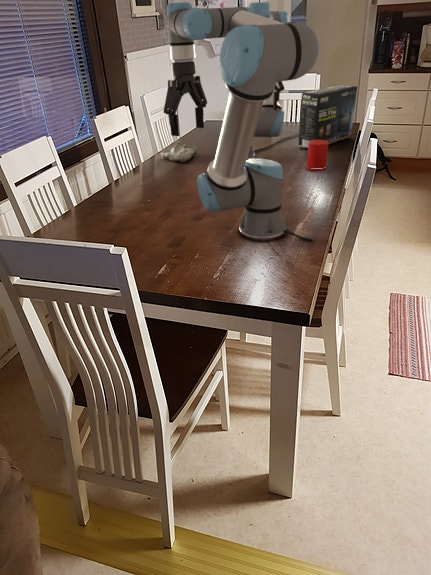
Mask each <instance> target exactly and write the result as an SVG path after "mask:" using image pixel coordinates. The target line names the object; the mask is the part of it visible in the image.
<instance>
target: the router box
mask: <svg viewBox="0 0 431 575" xmlns="http://www.w3.org/2000/svg"><path fill="white" fill-rule="evenodd" d="M357 93H358V86H356V85H350V84H339V85H338V84H337V85H334V86H328V87H324V88H318V89H314V90H309V91H304V92H301V93H300V109H299V110H300V111H299V124H298V133H299V134H298V135H297V136H298V137H297V146H298V145H302V146H307V147H308V142H309V141H311V140H326V141H328V142H331V141H333V140H336V139H338V138H341V137H344V136H347V135H351V136H352V133H353V132H352V131H353V125H354V115H355V109H356V99H357Z"/></svg>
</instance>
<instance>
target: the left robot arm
mask: <svg viewBox="0 0 431 575" xmlns="http://www.w3.org/2000/svg"><path fill="white" fill-rule="evenodd" d="M248 7H249V8H251V9H252V12H254V14H256V15H259V16H263V17H266V18H269V19H272V20H275V21H278V22H281V23H284V24H285V23H288V22H290V21H289V14H288V12H287V11H285V10H284V11H283V10H275V11H273V10H272V11H271V7H270V2H268V1H261V2H257V1H256V2H250V3H249V5H248ZM284 90H285V86H284V84H283V81H279V82H277V83H276V84H275V87H274V91H273V94H272V96H271V97H270V98H269V99H267V100H264V102H263V106H262V109H261V112H260V116H259V119H258V123H257V126H256V130H255V133H254V137H253V138H277V137H280V135H281V134H282V131H283V126H284V122H285V110H283V109H282V108H283V107H282V105H281V104H280V93H281V92H282V91H284ZM263 147H264V148H263ZM263 147H260V148H261V149H260V148H257V149H258V150H256V149H254V147H253V142H252V143H251V147H250V150H249V154H248V157H247V159H251V158H252V159H256V152H260V151H263V150H265V149H267V148H266V146H263ZM254 150H255V151H254ZM254 156H255V157H254ZM253 157H254V158H253Z"/></svg>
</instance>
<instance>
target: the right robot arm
mask: <svg viewBox="0 0 431 575" xmlns="http://www.w3.org/2000/svg"><path fill="white" fill-rule="evenodd" d="M166 20H167V30H168V38H169V39H168V40H169V42H168V43H169V50H170V52H169V53H170V60H171V61H172V62H171V63H170V67H171V74H172V76H174V79H168V80H167V91H166V96H165V102H164V105H163V114H165V115H168V121H169V126H170V136H172V137H179V136H180V127H179V114H177V111H178V109H179V106H180V103H181V102H182V101H181V100H182V99H183V97H184V95H185V94H189V96H190V98H191V99H192V101H193V103H194V104H195V106H196V107H194V111H195V112H194V114H195V127H196V129H197V128H198V129H204V128H205V124H204V117H205V116H204V115H205V114H204V108H207V105H208V100H207V96H206V94H205V92H204V88H203V86H202V81H201V75H196V73H197V69H196V68H197V67H196V62H195V59H196V49H195V41H201V40H207V39H220V38H221V39H223V41H222V43H221V47H220V51H219V63H220V65H219V73H220V76H221V79H222V81H223V82H224V83H225V88H226V89H227V90H228V91H229V92H228V97H227V101H226V105H225V111H224V115H223V120H222V125H221V130H220V135H219V138H218V144H217V148H216V153H215V158H214V159H213V160H211V161H210V162H209V164H208V166H207V170H206V173H204V172H202V173H201V174H198V175H197V179H196V185H197V186H196V187H197V191H198V195H199V199H200V201H201V204H202V205H203V207H204V209H205V211H207V212H209V213H221V212H225V211H229V210H234V209H239V208H243V207H244V211H243V213H242V216H241V220H240V222H239V226H238V232H239V235H240V236H241V237H242V238H244V239H247V240H250V241H254V242H271V241H277V240H279V239H281V238H283V237H285V235H286V234H288V235H290V236H293V237H296V238H298V239H301V240H304V241H308V242H313V238H309V237H305V236H302V235H299V234H296V233H294V232H292V231H288V230H287V223H286V221H285V216H284V214H283V210H282V200H283V181H284V172H283V171H284V169H283V166H282V164H280V162H277V161H275V160H271V159H266V158H254V159H248V160H247V157H248V154H249V150H250V147H251V143H252V144H253V139H254V138H255V137H254V133H255V130H256V126H257V123H258V119H259V116H260V112H261V109H262V106H263V102H264V100H267V99H269V98H270V97H271V96H272V94H273V91H274V87H275V84H276V83H277V82H279V81H282V82H288V81H294V80H297V79H300V78H302V77H304V76H305V75H307V74H308V73H309V72H310V71H311V70H312V68H313V67H314V66H315V65H316V63H317V60H318V59H319V54H320V42H319V37H318V35H317V33H316V32H315V31H314V29H313V28H311V27H310V26H309V25H307V24H304V23H301V22H297V21H289V22H288V23H285V24H284V23H281V22H278V21H275V20H272V19H269V18H266V17H263V16H259V15H256V14H254V12H252V9H251V8H249V6H234V7H233V6H232V7H207V8H203V7H201V8H200V7H193V6H192V3H191V2H189V1H179V2H169V3H168V4H167V5H166Z"/></svg>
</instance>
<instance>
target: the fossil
mask: <svg viewBox="0 0 431 575" xmlns="http://www.w3.org/2000/svg"><path fill="white" fill-rule="evenodd" d="M198 153H199V150H198V148H197V146H195V145H188V146H187V145H186V143H184V142H183V143H181V142H176V143H175V145H174V146H173V147H172V148H171V149H170V150H168V149H165V150H162V151H161V152H160V156H161V158H162V159H163V160H169V161H174V162H177V161H179V162H180V163H185V162H187V161H188V160H190V159H191V158H192V157H193V156H194V155H197V154H198Z"/></svg>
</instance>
